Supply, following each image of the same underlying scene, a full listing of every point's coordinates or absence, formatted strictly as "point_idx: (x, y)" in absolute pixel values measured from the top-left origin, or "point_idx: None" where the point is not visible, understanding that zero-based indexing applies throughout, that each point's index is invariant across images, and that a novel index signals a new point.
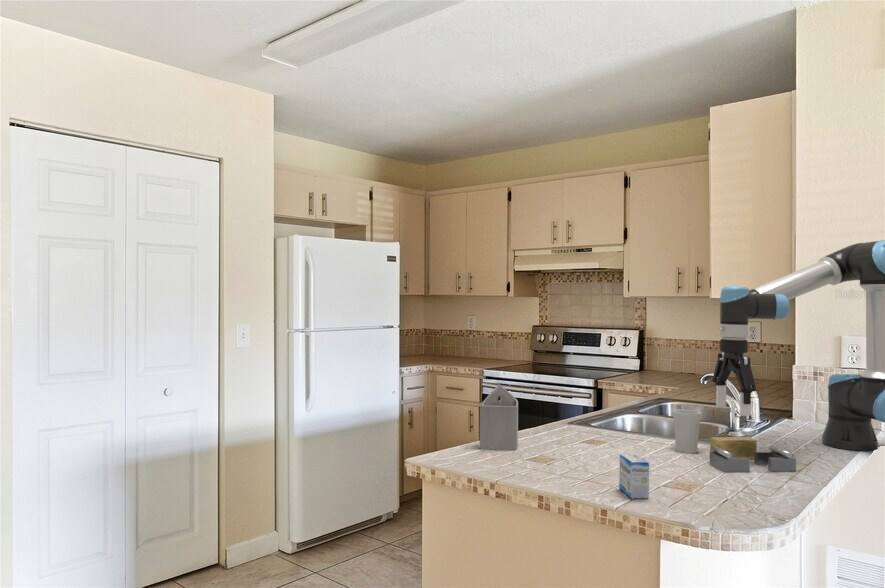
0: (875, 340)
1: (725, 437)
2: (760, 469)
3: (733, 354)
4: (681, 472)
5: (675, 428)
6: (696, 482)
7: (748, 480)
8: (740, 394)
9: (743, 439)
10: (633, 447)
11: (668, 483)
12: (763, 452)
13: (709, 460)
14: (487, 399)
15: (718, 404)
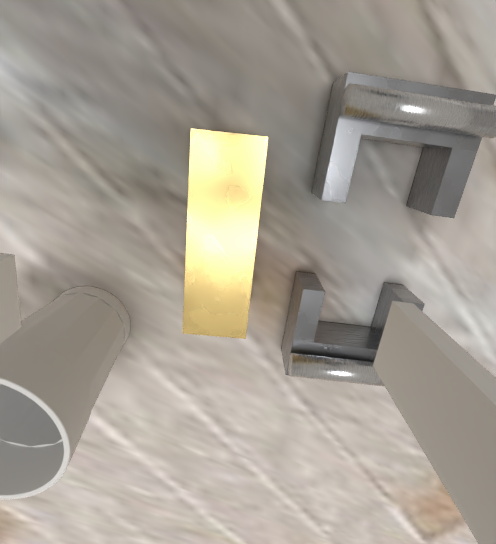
0: None
1: (190, 265)
2: (386, 223)
3: None
4: (344, 461)
5: (48, 418)
6: (434, 471)
7: (474, 344)
8: (483, 532)
9: (243, 202)
10: None
11: (417, 523)
12: (352, 170)
13: (283, 355)
14: None
15: (5, 330)
